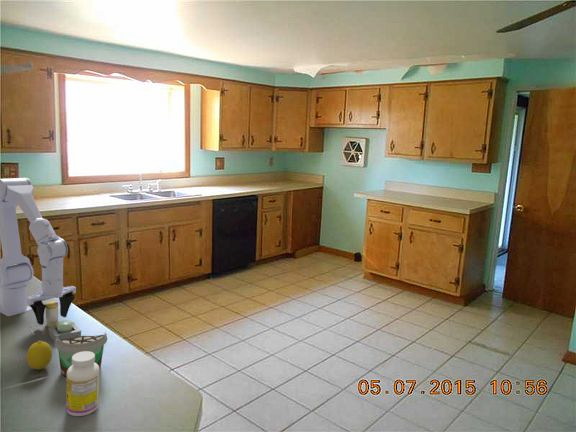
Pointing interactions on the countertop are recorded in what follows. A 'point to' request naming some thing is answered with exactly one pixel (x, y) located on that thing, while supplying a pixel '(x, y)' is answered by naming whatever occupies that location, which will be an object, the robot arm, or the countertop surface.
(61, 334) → the button housing
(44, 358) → the lemon
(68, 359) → the food container
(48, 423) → the countertop surface
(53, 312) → the two-tone rounded cylinder
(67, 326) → the button
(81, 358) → the supplement bottle
